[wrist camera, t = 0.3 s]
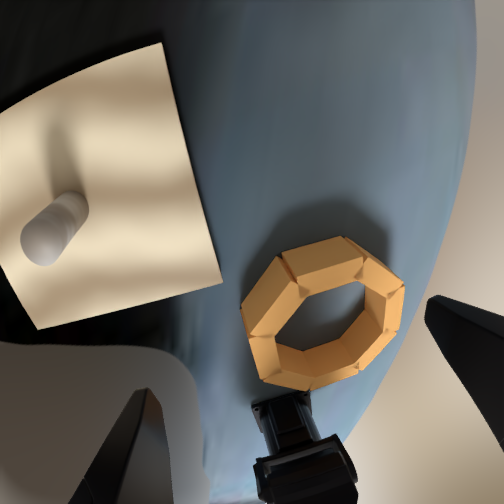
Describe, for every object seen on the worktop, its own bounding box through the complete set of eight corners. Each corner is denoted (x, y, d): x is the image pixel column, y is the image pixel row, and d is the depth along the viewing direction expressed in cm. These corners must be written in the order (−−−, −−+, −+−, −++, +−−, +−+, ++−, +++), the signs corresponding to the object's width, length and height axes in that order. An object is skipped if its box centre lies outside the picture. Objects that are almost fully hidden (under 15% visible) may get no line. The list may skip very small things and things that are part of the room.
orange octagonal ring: (377, 335, 29) (393, 357, 26) (259, 376, 28) (268, 404, 25) (383, 223, 23) (408, 241, 20) (228, 266, 22) (235, 294, 19)
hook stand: (221, 273, 22) (234, 331, 17) (42, 320, 21) (17, 375, 15) (162, 46, 15) (151, 17, 9) (-34, 141, 13) (-89, 161, 8)
